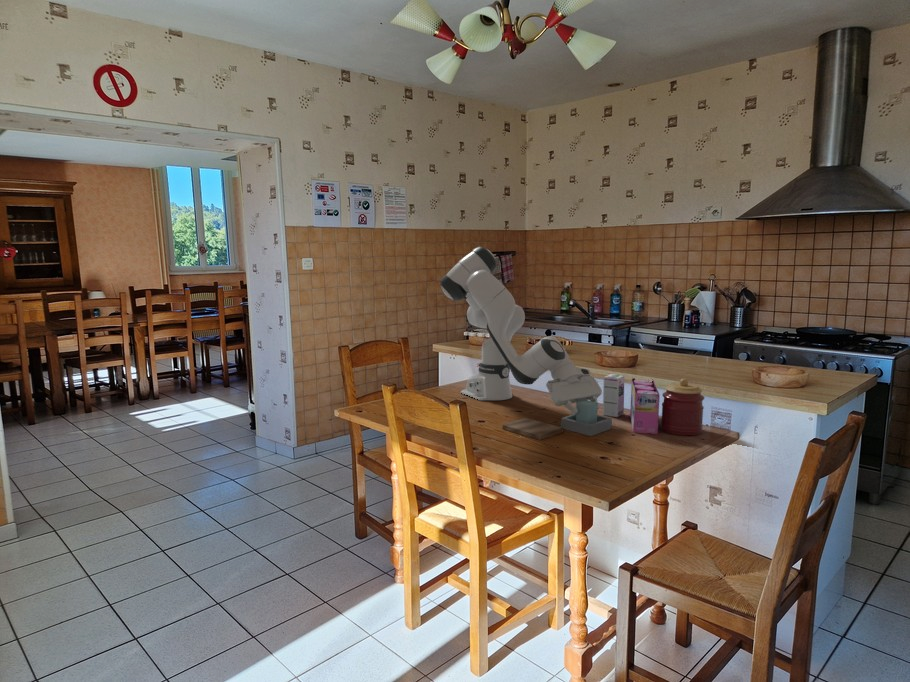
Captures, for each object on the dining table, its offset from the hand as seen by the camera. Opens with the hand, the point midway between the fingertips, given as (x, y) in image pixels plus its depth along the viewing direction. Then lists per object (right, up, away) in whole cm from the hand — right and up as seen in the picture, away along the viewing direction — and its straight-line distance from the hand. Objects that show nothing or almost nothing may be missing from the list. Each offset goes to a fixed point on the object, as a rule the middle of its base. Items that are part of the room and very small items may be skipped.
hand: (586, 411), depth 195 cm
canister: (+31, -6, -2) cm, 32 cm away
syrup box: (+13, -3, +17) cm, 22 cm away
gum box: (+21, -5, +6) cm, 22 cm away
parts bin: (0, -6, +1) cm, 6 cm away
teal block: (0, -6, +1) cm, 6 cm away
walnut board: (-18, -6, -1) cm, 20 cm away
